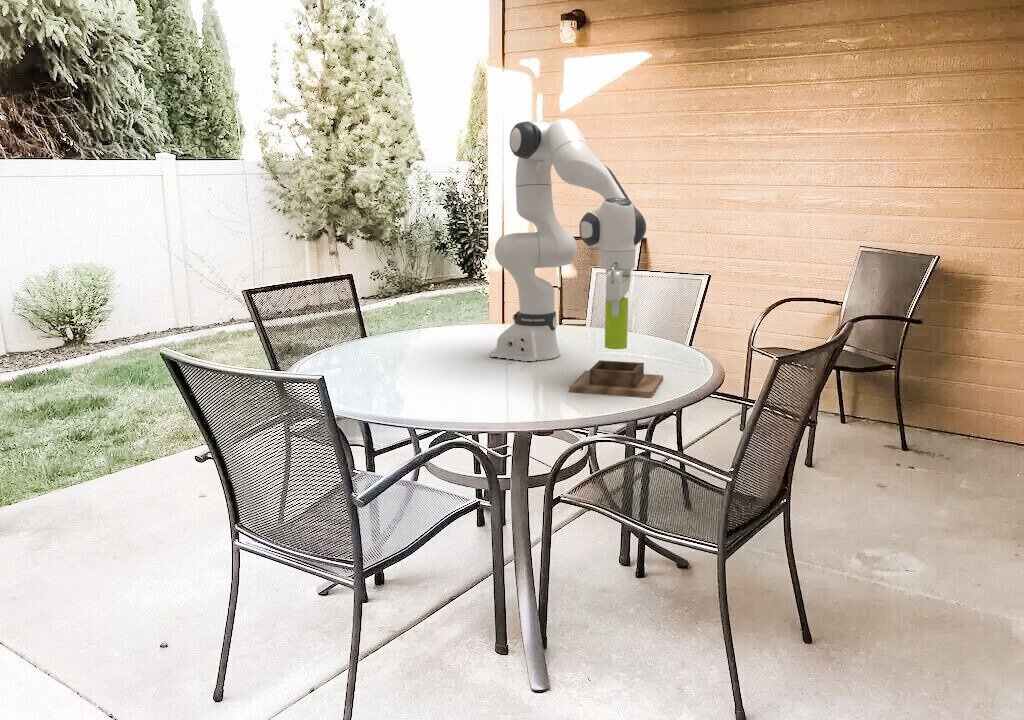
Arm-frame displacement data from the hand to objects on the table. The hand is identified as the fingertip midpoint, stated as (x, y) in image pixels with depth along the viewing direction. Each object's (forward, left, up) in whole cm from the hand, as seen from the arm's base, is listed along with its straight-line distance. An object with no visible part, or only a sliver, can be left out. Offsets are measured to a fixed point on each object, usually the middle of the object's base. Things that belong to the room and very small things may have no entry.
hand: (617, 313), depth 206 cm
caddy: (0, 0, -20) cm, 20 cm away
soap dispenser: (0, 0, -9) cm, 9 cm away
